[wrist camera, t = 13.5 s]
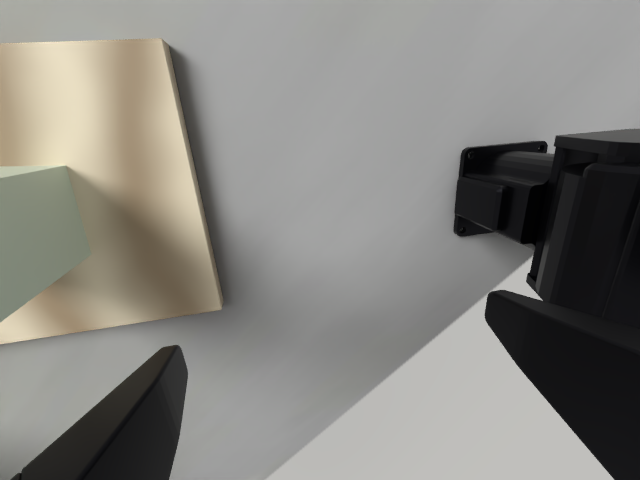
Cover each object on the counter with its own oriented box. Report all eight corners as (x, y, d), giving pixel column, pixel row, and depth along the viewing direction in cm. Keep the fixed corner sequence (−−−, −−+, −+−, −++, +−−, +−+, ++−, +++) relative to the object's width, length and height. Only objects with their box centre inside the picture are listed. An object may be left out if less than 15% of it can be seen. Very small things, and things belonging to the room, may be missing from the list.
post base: (168, 44, 16) (133, 14, 12) (223, 300, 22) (214, 343, 18) (-252, 59, 14) (-491, 27, 9) (-64, 344, 19) (-158, 406, 15)
